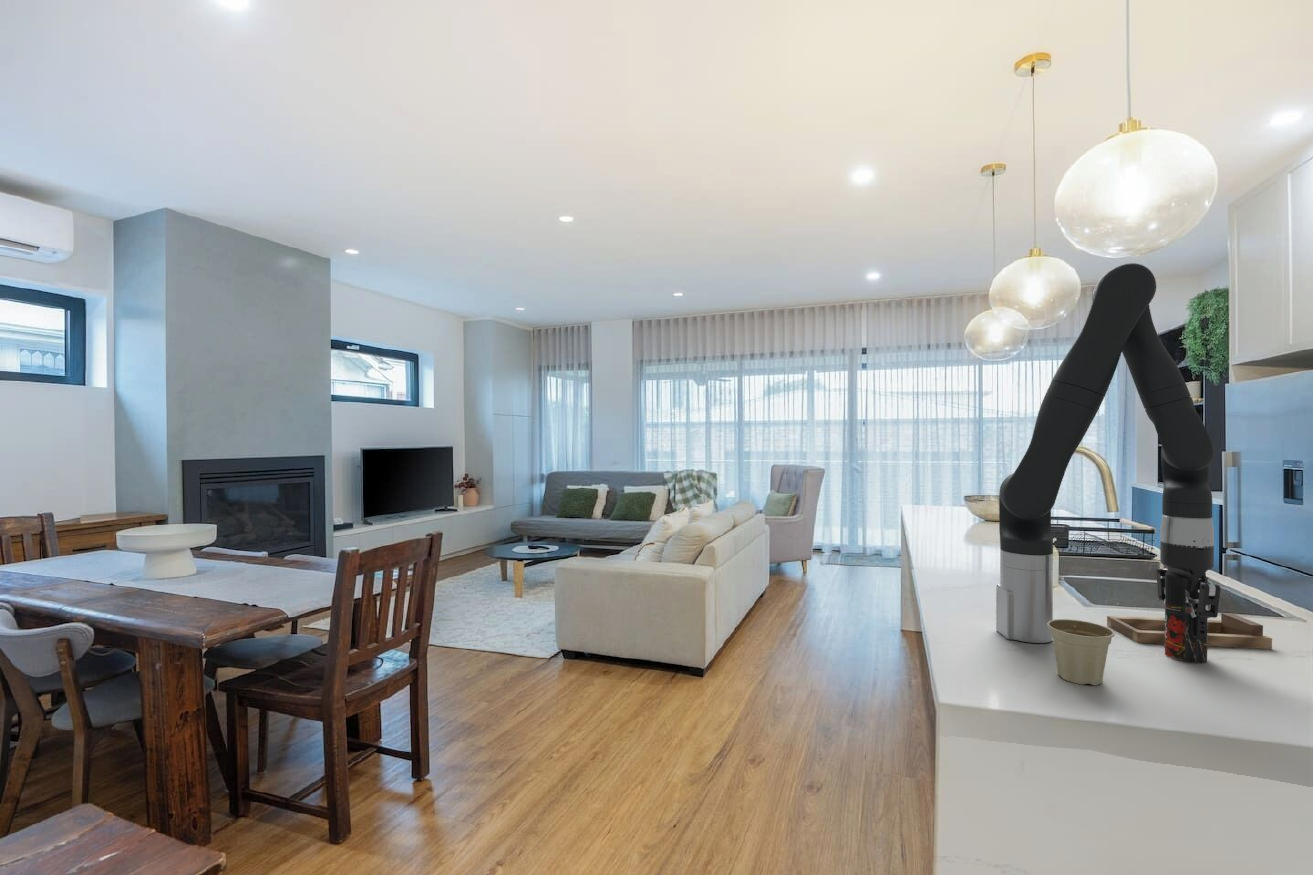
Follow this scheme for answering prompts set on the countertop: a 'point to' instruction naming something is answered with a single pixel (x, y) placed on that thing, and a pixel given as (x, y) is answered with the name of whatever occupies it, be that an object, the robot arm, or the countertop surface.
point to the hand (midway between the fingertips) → (1186, 632)
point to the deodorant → (1181, 622)
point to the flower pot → (1080, 650)
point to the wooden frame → (1231, 625)
